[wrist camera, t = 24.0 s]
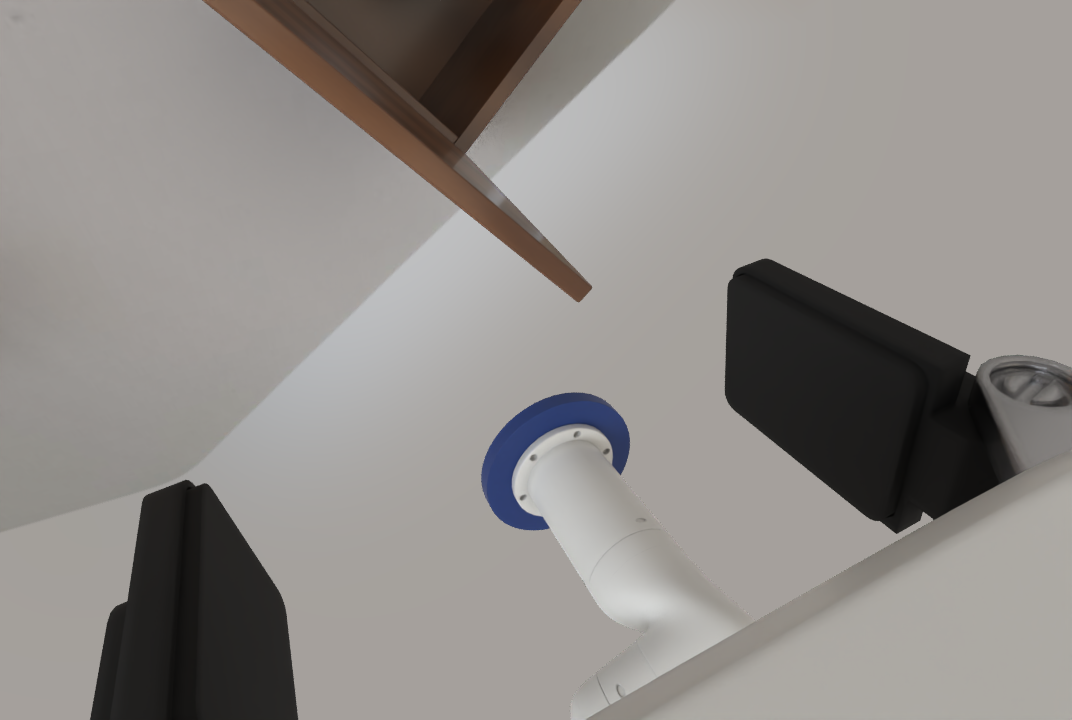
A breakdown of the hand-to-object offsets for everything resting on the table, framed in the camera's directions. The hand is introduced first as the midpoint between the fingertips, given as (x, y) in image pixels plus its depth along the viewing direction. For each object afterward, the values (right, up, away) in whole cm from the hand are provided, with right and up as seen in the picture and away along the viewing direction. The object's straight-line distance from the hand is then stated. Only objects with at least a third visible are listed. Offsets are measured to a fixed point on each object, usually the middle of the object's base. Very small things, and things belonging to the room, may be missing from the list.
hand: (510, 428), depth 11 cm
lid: (-5, +12, +14) cm, 19 cm away
